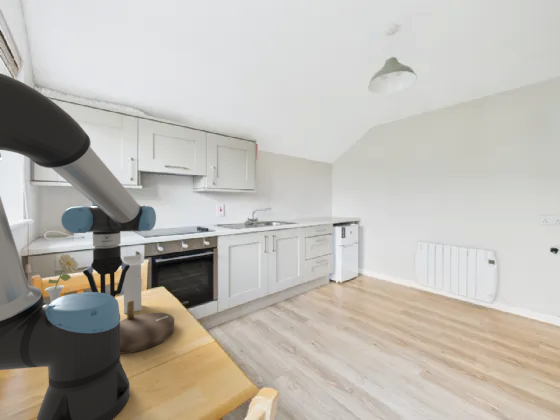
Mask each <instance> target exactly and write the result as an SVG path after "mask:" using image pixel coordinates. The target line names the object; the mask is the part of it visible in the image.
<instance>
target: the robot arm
mask: <svg viewBox="0 0 560 420" xmlns="http://www.w3.org/2000/svg"><path fill="white" fill-rule="evenodd" d="M91 142H92V141H91V139H90V137H89V135H88V133H86V131H85V130H84V129H83V128H82V126H81V125H80V123H79V122H77V121H76V120H75V119H74V118H73V117H72V116H71V115H70V114H69V113H68V112H66V111H65V110H64V109H63V108H62V107H60V106H59V105H58V104H56V103H55V102H54V101H53V100H52V99H50V98H49V97H47V96H45V95H44V94H42V93H41V92H40V91H38V90H36V89H35V88H33V87H31V86H29V85H28V84H26V83H24V82H22V81H20V80H18V79H16V78H13V77H12V76H8V75H7V74H3V73H1V72H0V151H6V152H12V153H16V154H18V155H21V156H24V157H27V158H29V159H30V160H31V161H32V162H33V163H35V164H36V165H37V166H39V167H42V168H46V169H52V170H53V171H54V172H56V174H58V175H59V176H60V177H62V178H63V180H65V181H66V182H67V183H68V184H69V185H71V186H72V187H73V188H74V189H76V191H78V192H79V193H81V194H82V195H83V196H84V197H85V198H86V199H88V201H90V202H91V203H92V204H91V206H90V205H89V206H88V205H87V206H85V205H77V206H72V207H69V208H67V209H66V210H65V211H64V212H63V213H62V215H61V220H60V221H61V225H62V227H63V229H64V230H65V231H67V232H69V233H71V234H86V233H92V246H93V247H94V248H93V249H92V258H93V259H92V263H91V265H90V266H88V267H87V268H84V269H83V271H82V273H83V275H84V276H86V278H87V281H88V284H89V287H90V289H91V291H86V292H84V291H83V292H80V293H76V292H75V293H70V294H65V295H62V296H60V297H59V298H57V299H55V300H53V301H52V302H51V301H50V303H46V302H45V298H44V295H43V292H42V290H41V289H40V288H39V287H37V286H35V285H34V286H33V285H29V283H28V279H27V277H26V274H25V270H24V268H23V263H22V261H21V258H20V254H19V251H18V249H17V245H16V242H15V239H14V235H13V233H12V230H11V226H10V222H9V220H8V216H7V213H6V210H5V207H4V203H3V200H2V197H1V196H0V371H5V370H7V371H8V370H16V369H19V370H20V369H29V368H30V369H31V368H32V369H33V368H43V367H44V368H45V367H46V368H47V369H48V370H47V371H48V373H47V374H48V385H47V389H46V391H45V395H44V397H43V400H42V402H41V406H40V408H39V411H38V414H37V417H36V420H113V419H114V418H115V417H116V416H117V415H118V414H120V412H121V411H122V410H123V409H124V408H125V406H126V404H127V403H128V401H129V398H130V392H131V391H130V389H131V387H130V380H129V378H128V376H127V373H126V371H125V369H124V367H123V364H122V363H121V355H120V354H121V353H120V321H121V313H120V307H119V305H120V304H119V301H118V300H117V299H116V296H117V295H120V294H121V293H122V290H123V287H124V279H125V275H126V272H127V270H128V269H129V267H130V265H129V264H126V263H124V261H123V259H122V255H121V253H122V250H121V246H120V244H121V240H122V239H121V232H139V233H140V232H149V231H152V230H153V229H154V227H155V226H156V222H157V214H156V211H155V208H154V207H153V206H150V205H140V204H139V203H138V202H137V201H136V199H135V198H134V197H133V196H132V194H130V192H129V191H128V190H127V189H126V188H125V186H124V185H123V184H122V183H121V182H120V180H119V179H118V178H117V177H116V175H114V173H113V172H112V171H111V170H110V168H108V166H107V165H106V164H105V163H104V161H103V160H101V158H100V157H99V155H97V153H96V152H95V151H94V150H93V148H92V147H91ZM1 160H3V158H2V155H1V153H0V161H1ZM120 267H121V273H120V276H119V277H120V278H119V281H118V285H117V289H116V287H115V286H116V285H115V284H116V283H115V279H116V278H115V273H116V272H117V271H118V270H119V268H120ZM94 271H95V272H97V274H98V275H99V278H100V279H99V280H100V283H99V284H100V291H99V289H98V287H97V283H96V280H95V278H94V275H93V272H94ZM106 275H109V293H110V294H109V293H106Z"/></svg>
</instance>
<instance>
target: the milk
mask: <svg viewBox="0 0 560 420" xmlns="http://www.w3.org/2000/svg"><path fill="white" fill-rule="evenodd" d="M141 258H142V256H141V255H140V254H138V255H126V256H123V263H126V264H129V265H130V267H129V269H128V270H127V272H126V275H125V279H124V283H123V313H124V314H127V301H129V300H134V313H135V312H139V311H142V259H141Z"/></svg>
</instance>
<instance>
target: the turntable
mask: <svg viewBox="0 0 560 420" xmlns="http://www.w3.org/2000/svg"><path fill="white" fill-rule="evenodd" d="M174 332H175V317H174V316H172V315H171V314H168V313H164V312H148V313H141V314H136V315H135V312H134V300H129V301H127V313H126V318H123V319H120V354H127V353H128V354H129V353H134V352H136V353H137V352H140V351H143V350H147V349H150V348H152V347H155V346H157V345H159V344H161V343H162V342H165V341H166V340H167V339H169V338H170V337H172V335H173V334H174Z"/></svg>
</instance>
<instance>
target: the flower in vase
mask: <svg viewBox="0 0 560 420" xmlns="http://www.w3.org/2000/svg"><path fill="white" fill-rule="evenodd" d="M58 265H59V266H60V269H61V271H60V273H59V277H58V279H57V280H54V279H49V280H48V284H55V285H53V286H49V287H46V288H45V289H44V290H45V292H47V293H48V295H49V299H50V303H51V302H52V301H53V300H55V299H57V298H59V297H61V292H62V290H63V289H64V288H65V285H63V284H61V285H58V283H60V282H59V281H60V280H62V281H65V282H67V281H69V280H70V279H71V275H69V274H76V271H79V263H78V262H77V261H76V260H75V257H71V255H70V254H67V253H66V254H64V253H62V255H60V257H59V258H58ZM63 271H64V272H65V273H63ZM68 273H69V274H68Z"/></svg>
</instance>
